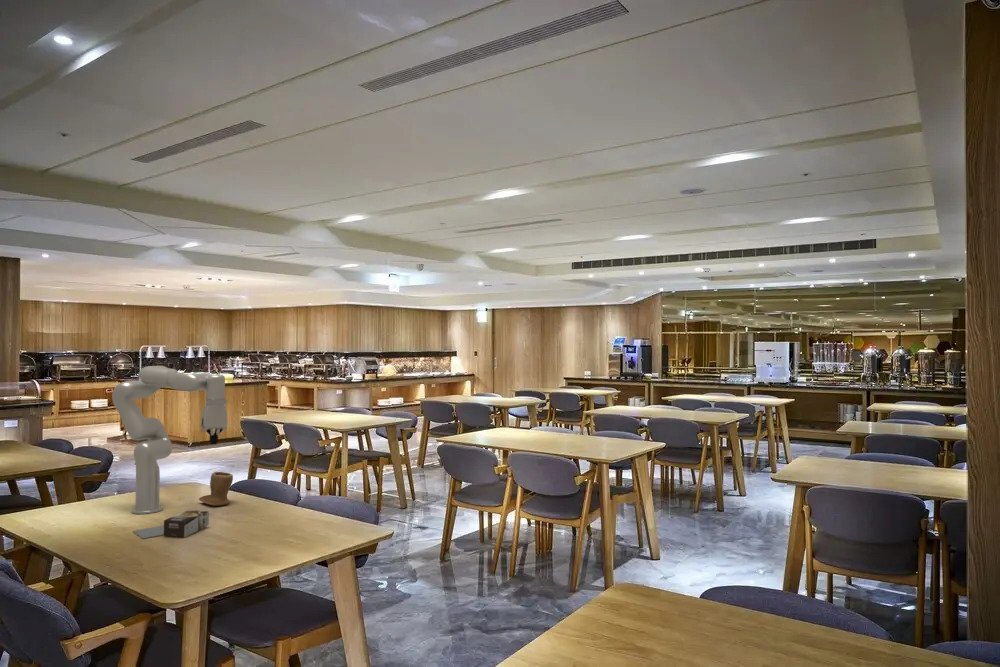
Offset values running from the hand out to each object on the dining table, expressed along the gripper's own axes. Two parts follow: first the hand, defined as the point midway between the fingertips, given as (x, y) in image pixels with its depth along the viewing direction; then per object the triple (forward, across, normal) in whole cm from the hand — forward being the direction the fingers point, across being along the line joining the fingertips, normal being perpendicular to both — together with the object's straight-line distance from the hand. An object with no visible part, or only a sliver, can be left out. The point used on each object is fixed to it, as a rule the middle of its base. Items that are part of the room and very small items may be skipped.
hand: (213, 443), depth 288 cm
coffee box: (+27, +10, +17) cm, 34 cm away
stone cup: (+32, -9, -18) cm, 38 cm away
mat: (+31, +24, +15) cm, 42 cm away
